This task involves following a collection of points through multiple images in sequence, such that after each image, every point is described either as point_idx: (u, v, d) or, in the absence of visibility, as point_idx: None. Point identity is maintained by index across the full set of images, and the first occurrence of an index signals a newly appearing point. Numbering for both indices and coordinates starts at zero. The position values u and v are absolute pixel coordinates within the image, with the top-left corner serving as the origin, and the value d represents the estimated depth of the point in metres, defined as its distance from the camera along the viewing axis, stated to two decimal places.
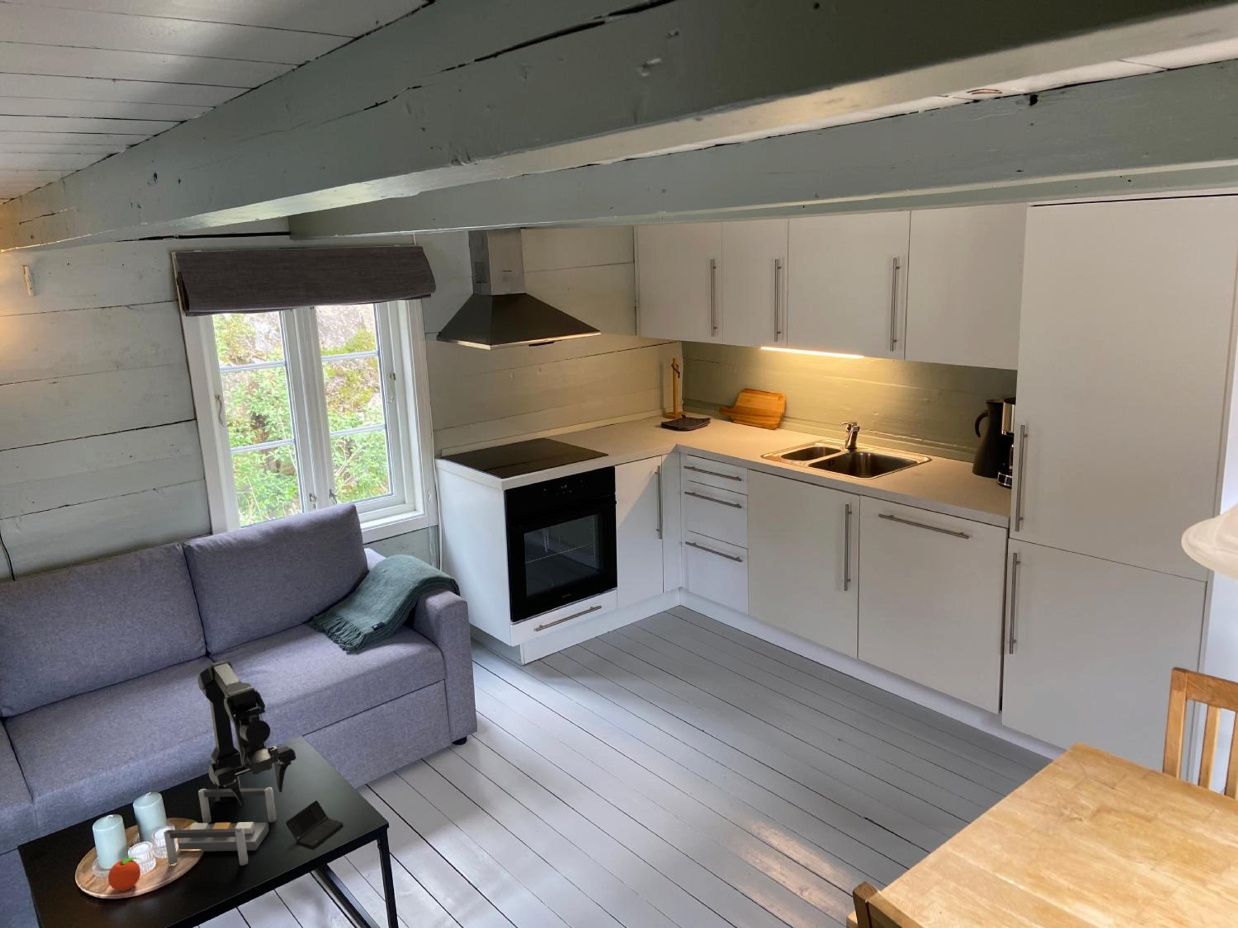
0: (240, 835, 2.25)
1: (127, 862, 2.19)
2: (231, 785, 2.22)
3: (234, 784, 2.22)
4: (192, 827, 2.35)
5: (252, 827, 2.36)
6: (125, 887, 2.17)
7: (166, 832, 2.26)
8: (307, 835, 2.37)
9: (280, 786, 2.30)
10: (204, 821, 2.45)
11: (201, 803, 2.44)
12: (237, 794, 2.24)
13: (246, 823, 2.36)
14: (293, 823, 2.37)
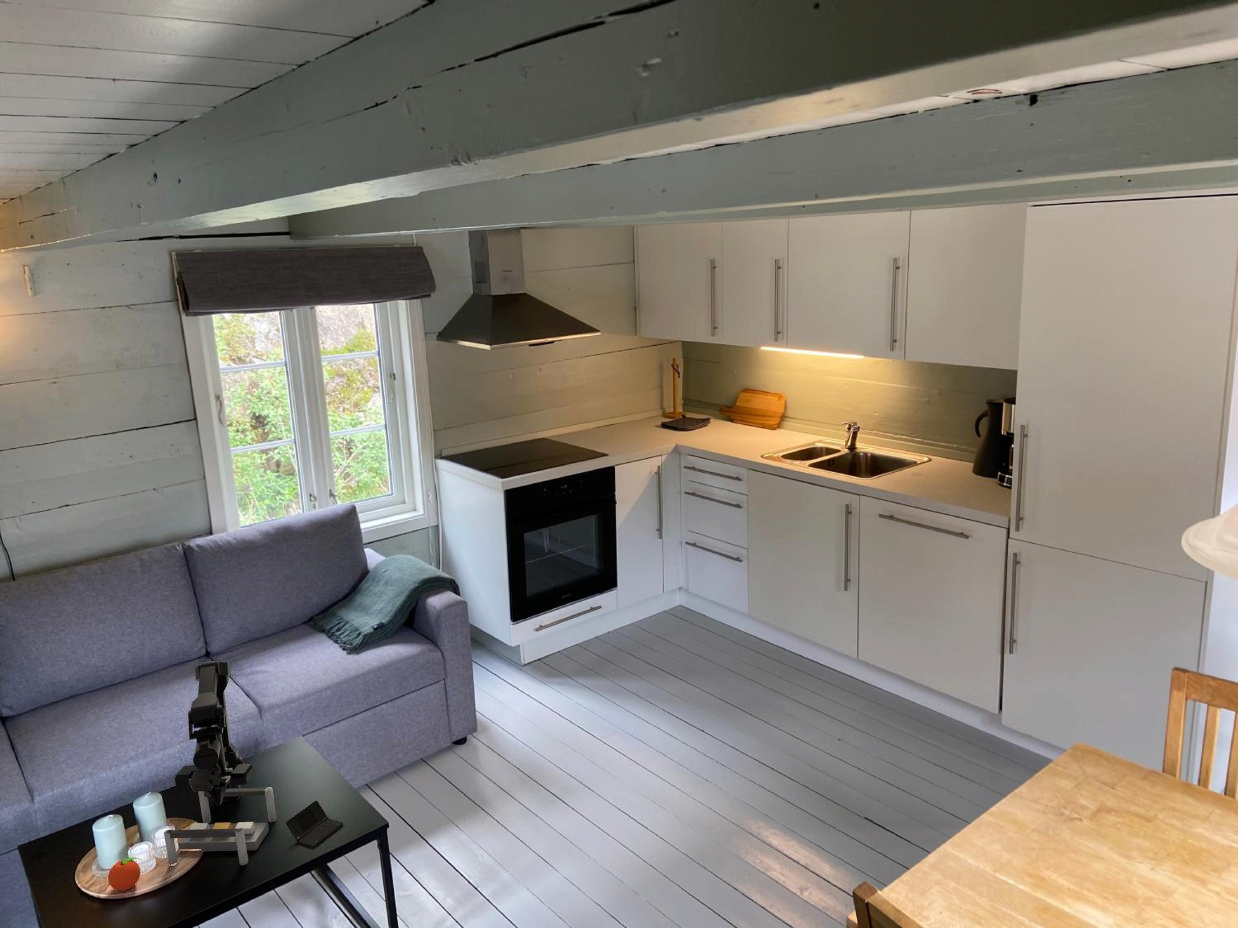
0: (240, 835, 2.25)
1: (127, 862, 2.19)
2: None
3: None
4: (192, 827, 2.35)
5: (252, 827, 2.36)
6: (125, 887, 2.17)
7: (166, 832, 2.26)
8: (307, 835, 2.37)
9: (218, 800, 2.34)
10: (204, 821, 2.45)
11: (201, 803, 2.44)
12: (211, 794, 2.33)
13: (246, 823, 2.36)
14: (293, 823, 2.37)
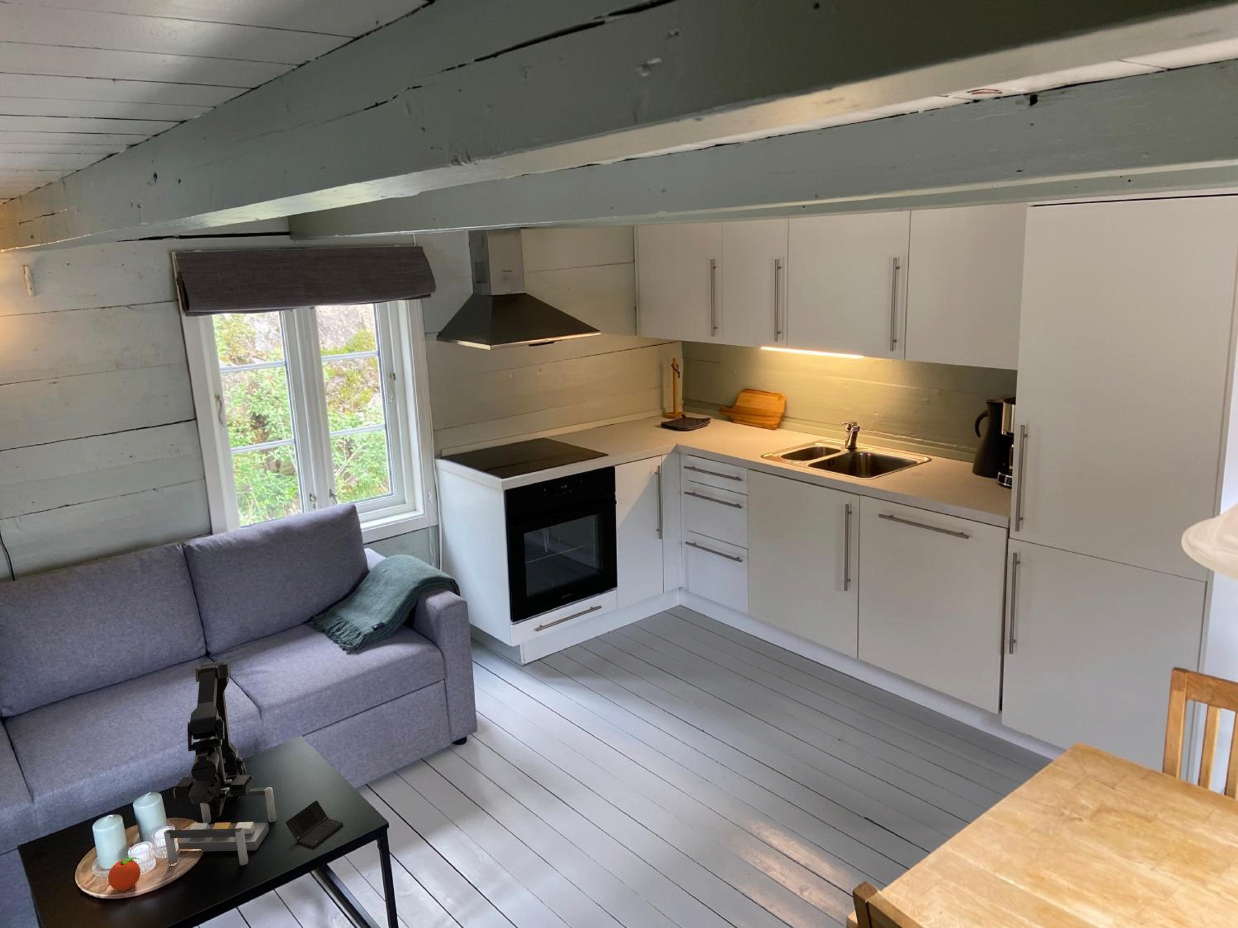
0: (240, 835, 2.25)
1: (127, 862, 2.19)
2: None
3: None
4: (192, 827, 2.35)
5: (252, 827, 2.36)
6: (125, 887, 2.17)
7: (166, 832, 2.26)
8: (307, 835, 2.37)
9: (217, 812, 2.34)
10: (204, 821, 2.45)
11: (201, 803, 2.44)
12: (210, 806, 2.34)
13: (246, 823, 2.36)
14: (293, 823, 2.37)
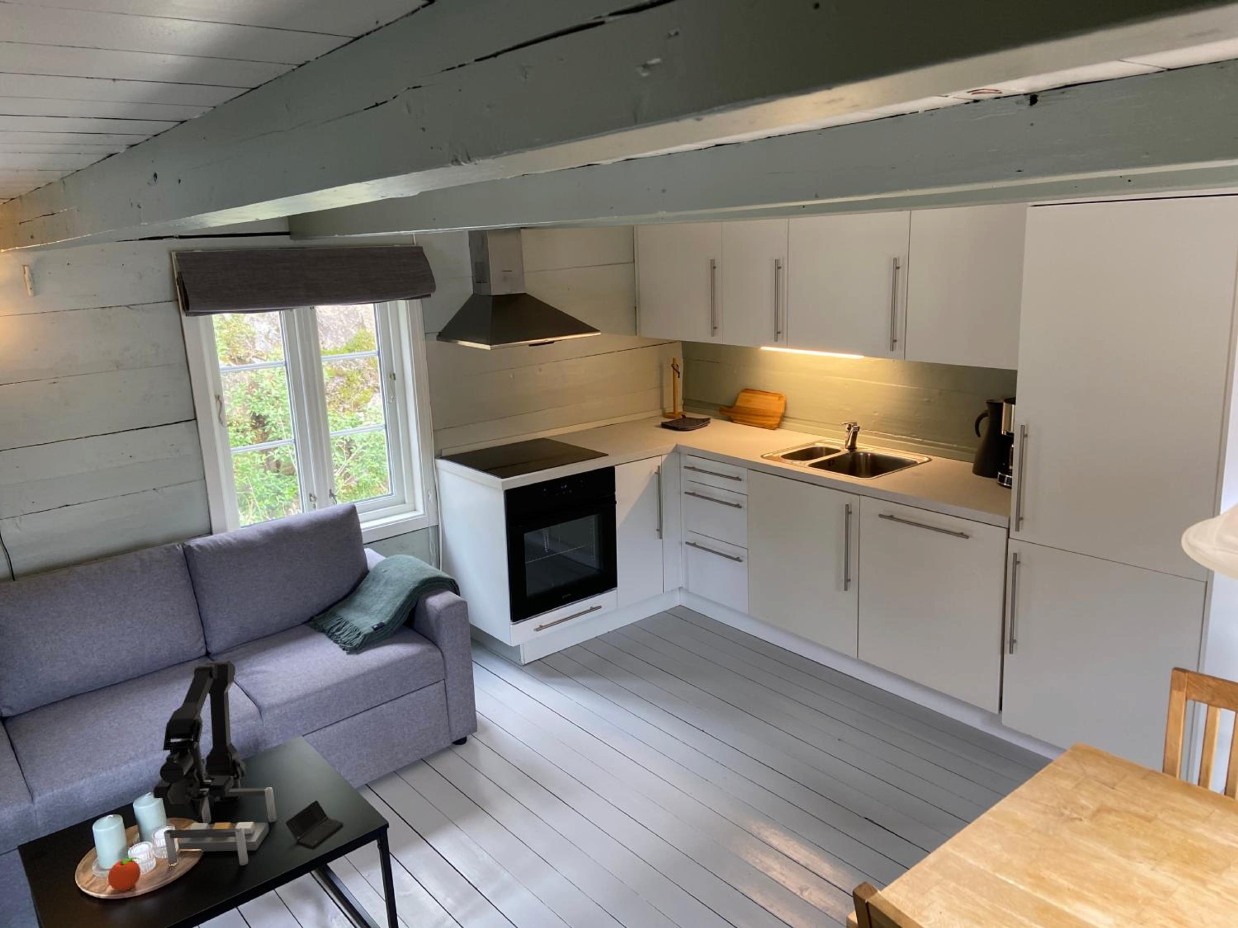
0: (240, 835, 2.25)
1: (127, 862, 2.19)
2: None
3: None
4: (192, 827, 2.35)
5: (252, 827, 2.36)
6: (125, 887, 2.17)
7: (166, 832, 2.26)
8: (307, 835, 2.37)
9: (197, 812, 2.34)
10: (204, 821, 2.45)
11: None
12: (189, 806, 2.34)
13: (246, 823, 2.36)
14: (293, 823, 2.37)
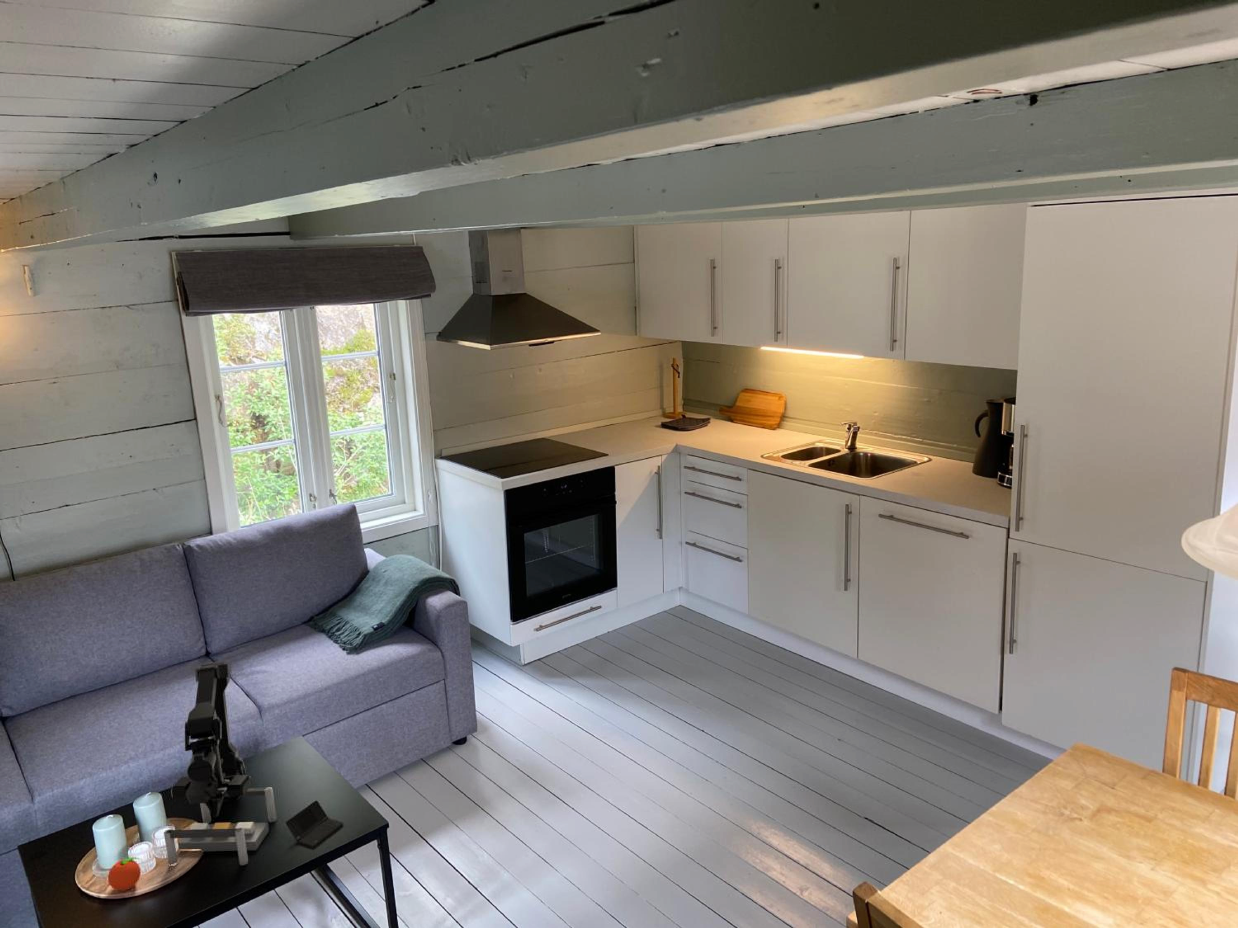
0: (240, 835, 2.25)
1: (127, 862, 2.19)
2: None
3: None
4: (192, 827, 2.35)
5: (252, 827, 2.36)
6: (125, 887, 2.17)
7: (166, 832, 2.26)
8: (307, 835, 2.37)
9: (214, 811, 2.34)
10: (204, 821, 2.45)
11: (201, 803, 2.44)
12: (207, 806, 2.34)
13: (246, 823, 2.36)
14: (293, 823, 2.37)
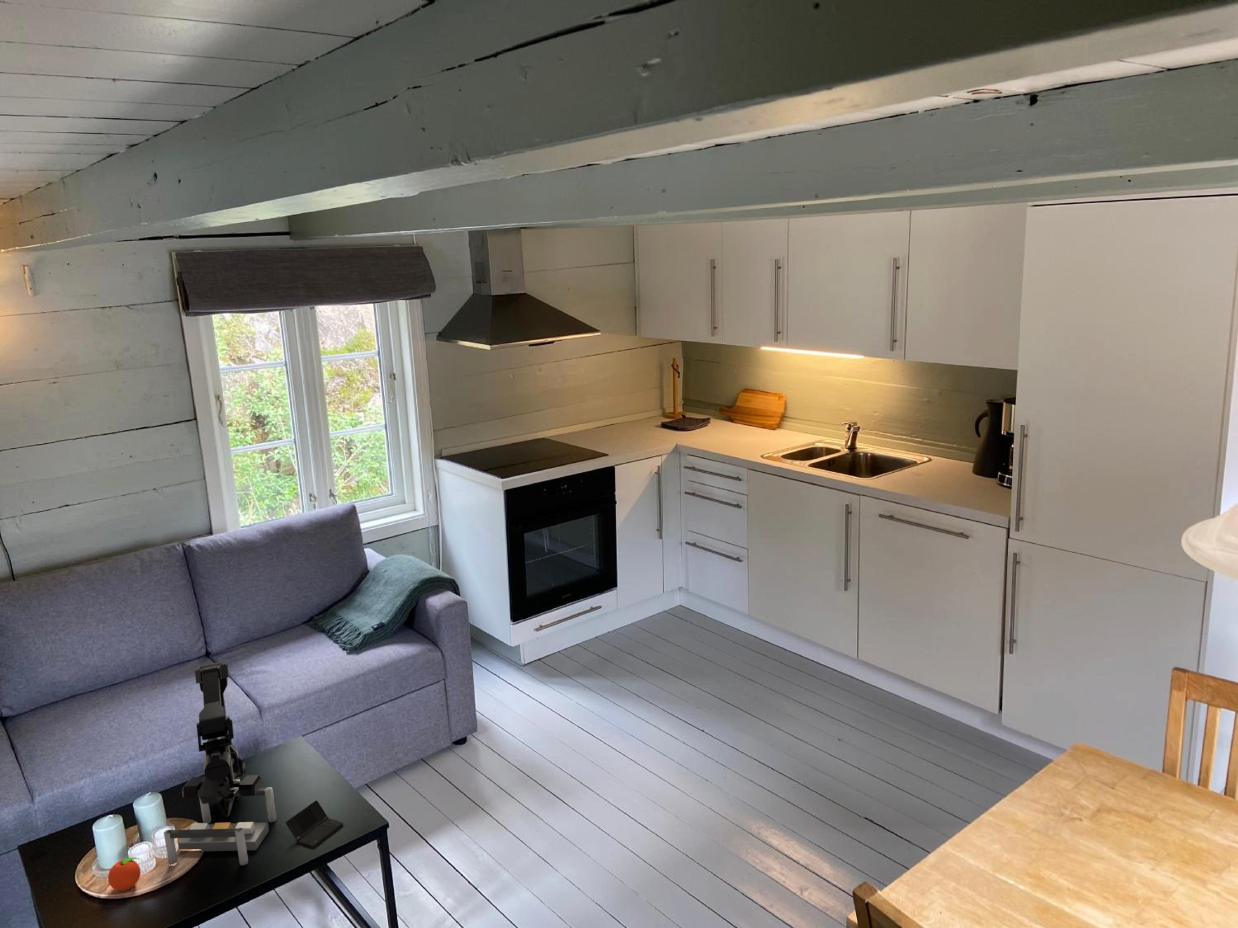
0: (240, 835, 2.25)
1: (127, 862, 2.19)
2: None
3: None
4: (192, 827, 2.35)
5: (252, 827, 2.36)
6: (125, 887, 2.17)
7: (166, 832, 2.26)
8: (307, 835, 2.37)
9: (226, 811, 2.34)
10: (204, 821, 2.45)
11: (201, 803, 2.44)
12: (219, 806, 2.34)
13: (246, 823, 2.36)
14: (293, 823, 2.37)
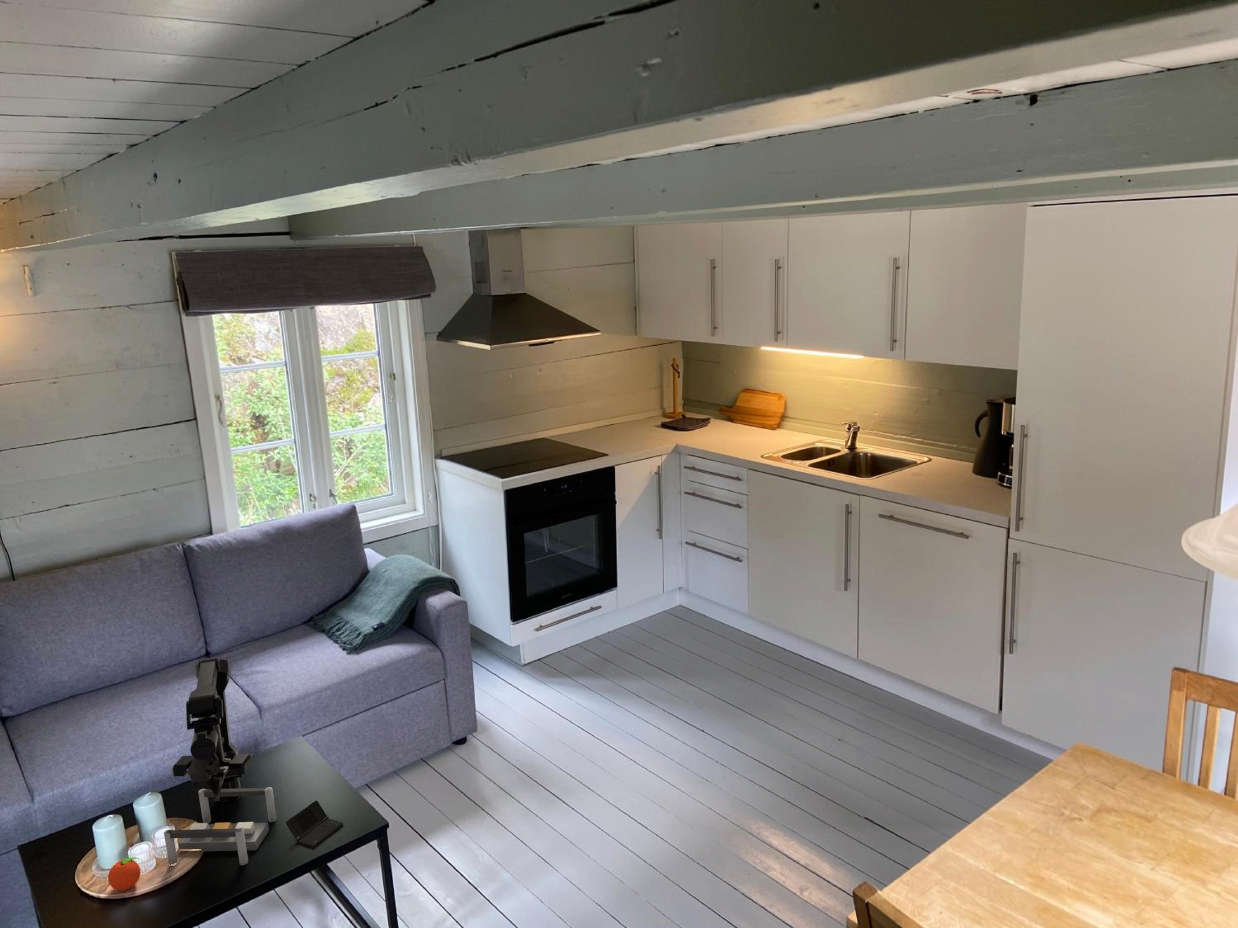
0: (240, 835, 2.25)
1: (127, 862, 2.19)
2: None
3: None
4: (192, 827, 2.35)
5: (252, 827, 2.36)
6: (125, 887, 2.18)
7: (166, 832, 2.26)
8: (307, 835, 2.37)
9: (216, 790, 2.35)
10: (204, 821, 2.45)
11: (201, 803, 2.44)
12: (209, 784, 2.34)
13: (246, 823, 2.36)
14: (293, 823, 2.37)
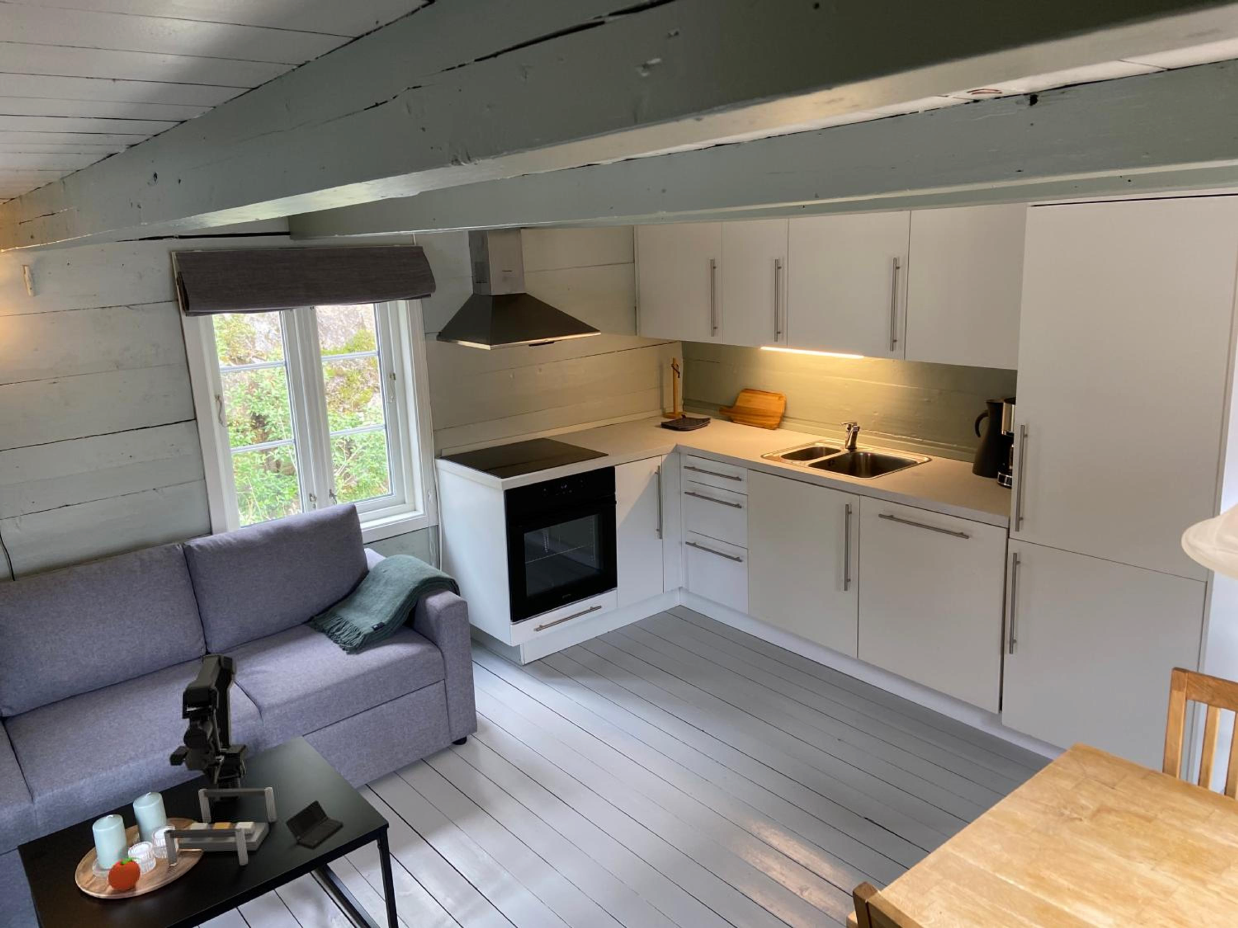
0: (240, 835, 2.25)
1: (127, 862, 2.19)
2: None
3: None
4: (192, 827, 2.35)
5: (252, 827, 2.36)
6: (125, 887, 2.18)
7: (166, 832, 2.26)
8: (307, 835, 2.37)
9: (212, 780, 2.39)
10: (204, 821, 2.45)
11: (201, 803, 2.44)
12: (205, 774, 2.38)
13: (246, 823, 2.36)
14: (293, 823, 2.37)
